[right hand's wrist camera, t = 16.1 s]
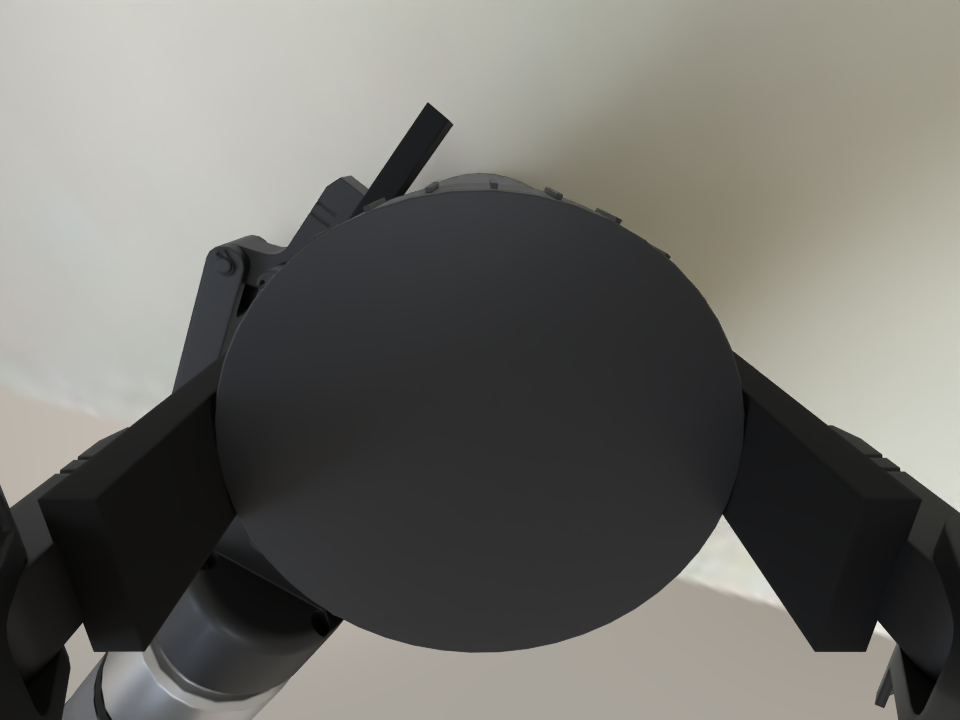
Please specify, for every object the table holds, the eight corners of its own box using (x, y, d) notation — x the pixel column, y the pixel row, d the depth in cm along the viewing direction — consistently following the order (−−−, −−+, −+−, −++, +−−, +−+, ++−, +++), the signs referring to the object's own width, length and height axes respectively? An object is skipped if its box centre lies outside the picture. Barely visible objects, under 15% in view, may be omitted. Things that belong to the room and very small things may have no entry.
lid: (445, 56, 9) (435, 29, 7) (795, 385, 12) (863, 435, 10) (176, 433, 12) (114, 491, 10) (502, 637, 15) (506, 717, 13)
